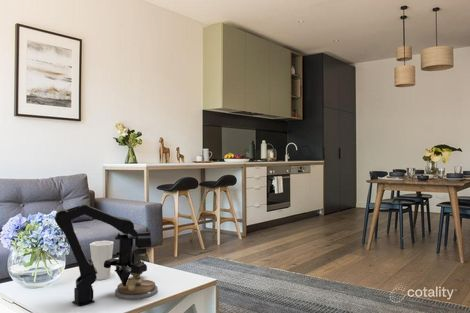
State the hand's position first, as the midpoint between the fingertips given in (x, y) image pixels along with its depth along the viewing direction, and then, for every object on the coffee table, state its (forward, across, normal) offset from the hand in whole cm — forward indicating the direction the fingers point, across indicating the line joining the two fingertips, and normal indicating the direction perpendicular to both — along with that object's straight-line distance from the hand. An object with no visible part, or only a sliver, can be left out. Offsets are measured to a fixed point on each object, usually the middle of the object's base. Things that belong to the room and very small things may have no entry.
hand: (124, 285), depth 171 cm
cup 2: (+5, +12, -23) cm, 27 cm away
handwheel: (+3, -1, -6) cm, 7 cm away
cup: (+6, +28, -17) cm, 33 cm away
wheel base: (+4, -1, -6) cm, 8 cm away
